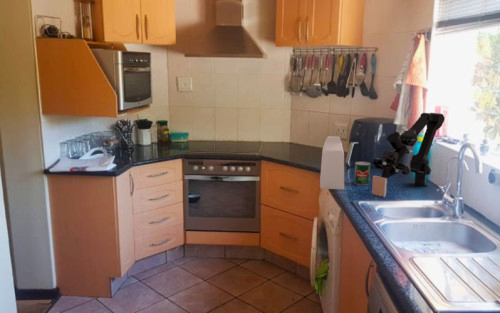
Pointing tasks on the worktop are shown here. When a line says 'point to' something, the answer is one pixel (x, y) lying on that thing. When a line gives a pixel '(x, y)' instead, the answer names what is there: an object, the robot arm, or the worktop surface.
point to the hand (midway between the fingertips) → (382, 179)
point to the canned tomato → (362, 173)
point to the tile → (379, 186)
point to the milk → (332, 164)
